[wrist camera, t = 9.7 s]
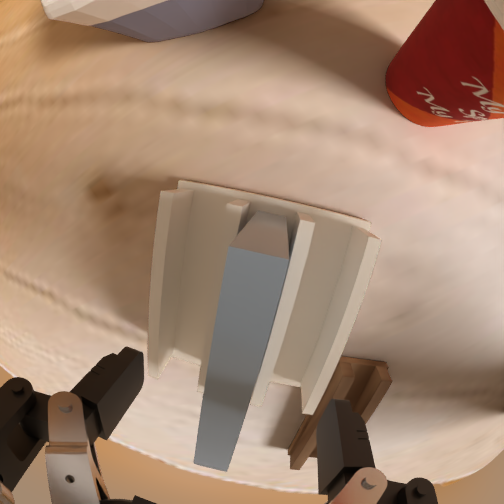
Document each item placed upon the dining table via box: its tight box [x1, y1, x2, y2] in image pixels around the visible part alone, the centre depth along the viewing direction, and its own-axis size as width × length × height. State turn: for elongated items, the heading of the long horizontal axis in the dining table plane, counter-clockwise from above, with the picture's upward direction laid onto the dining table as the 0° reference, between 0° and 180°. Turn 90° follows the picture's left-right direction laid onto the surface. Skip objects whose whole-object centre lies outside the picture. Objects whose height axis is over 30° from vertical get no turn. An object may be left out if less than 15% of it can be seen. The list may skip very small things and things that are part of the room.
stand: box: [288, 356, 392, 470], centre depth 22 cm, size 5×14×3 cm, turn 168°
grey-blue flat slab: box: [194, 210, 289, 472], centre depth 15 cm, size 2×12×10 cm, turn 168°
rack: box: [148, 180, 382, 415], centre depth 18 cm, size 13×14×5 cm
